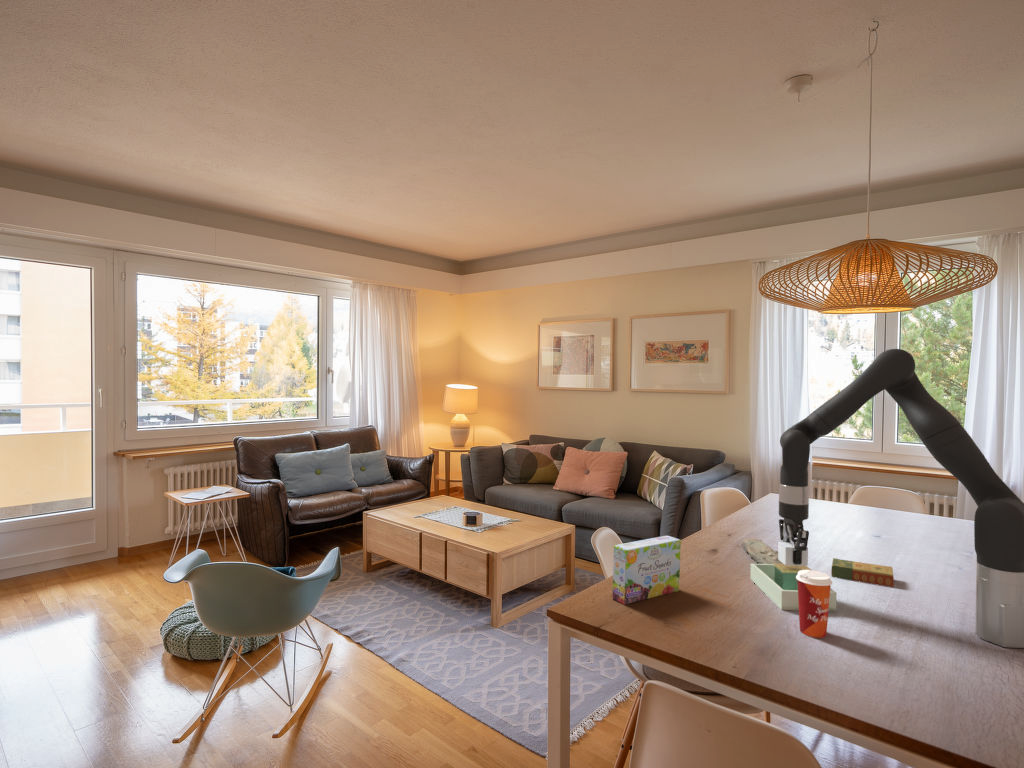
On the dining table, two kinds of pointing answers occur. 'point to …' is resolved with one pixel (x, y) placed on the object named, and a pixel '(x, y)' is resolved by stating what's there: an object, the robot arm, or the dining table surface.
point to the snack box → (646, 569)
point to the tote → (782, 598)
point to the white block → (790, 554)
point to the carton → (862, 572)
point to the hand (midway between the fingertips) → (792, 560)
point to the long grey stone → (760, 552)
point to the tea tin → (787, 575)
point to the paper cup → (813, 602)
